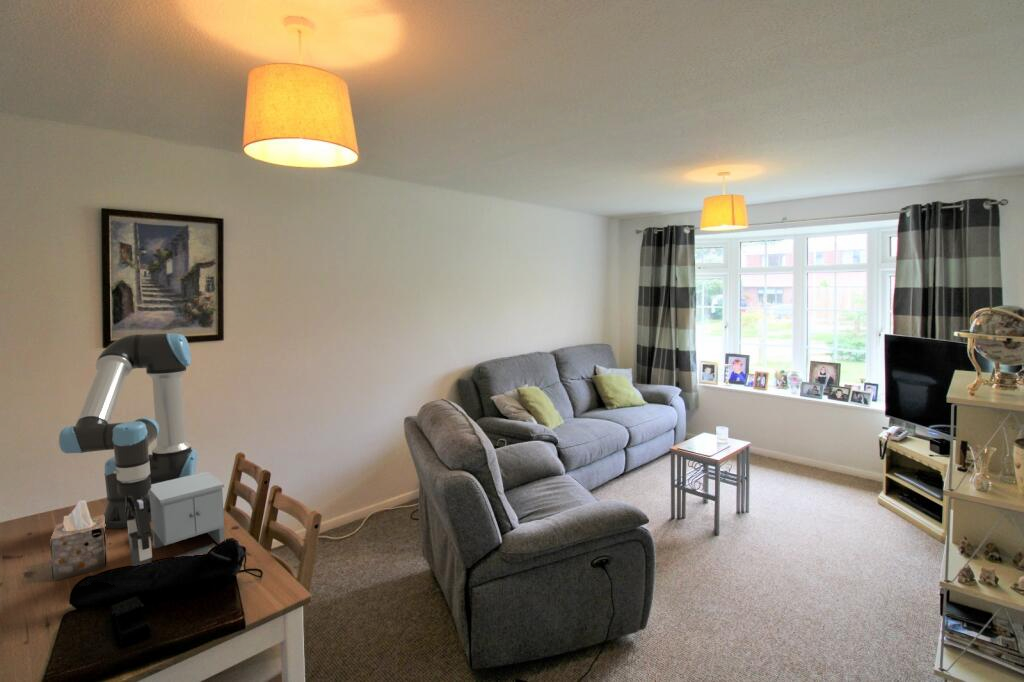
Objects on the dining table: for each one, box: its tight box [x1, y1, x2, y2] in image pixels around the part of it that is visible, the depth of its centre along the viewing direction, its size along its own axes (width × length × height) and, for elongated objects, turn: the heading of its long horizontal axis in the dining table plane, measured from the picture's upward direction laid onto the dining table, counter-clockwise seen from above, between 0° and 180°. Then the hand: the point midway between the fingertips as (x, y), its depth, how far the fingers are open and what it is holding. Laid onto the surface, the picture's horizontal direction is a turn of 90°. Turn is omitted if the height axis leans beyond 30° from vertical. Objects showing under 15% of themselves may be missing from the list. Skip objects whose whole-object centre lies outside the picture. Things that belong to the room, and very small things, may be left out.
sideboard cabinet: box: [149, 471, 226, 549], centre depth 159 cm, size 17×17×20 cm
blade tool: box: [128, 531, 216, 567], centre depth 151 cm, size 4×21×12 cm, turn 138°
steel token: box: [188, 548, 209, 556], centre depth 152 cm, size 5×5×2 cm
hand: (140, 549), depth 145 cm, fingers open, 13 cm apart
